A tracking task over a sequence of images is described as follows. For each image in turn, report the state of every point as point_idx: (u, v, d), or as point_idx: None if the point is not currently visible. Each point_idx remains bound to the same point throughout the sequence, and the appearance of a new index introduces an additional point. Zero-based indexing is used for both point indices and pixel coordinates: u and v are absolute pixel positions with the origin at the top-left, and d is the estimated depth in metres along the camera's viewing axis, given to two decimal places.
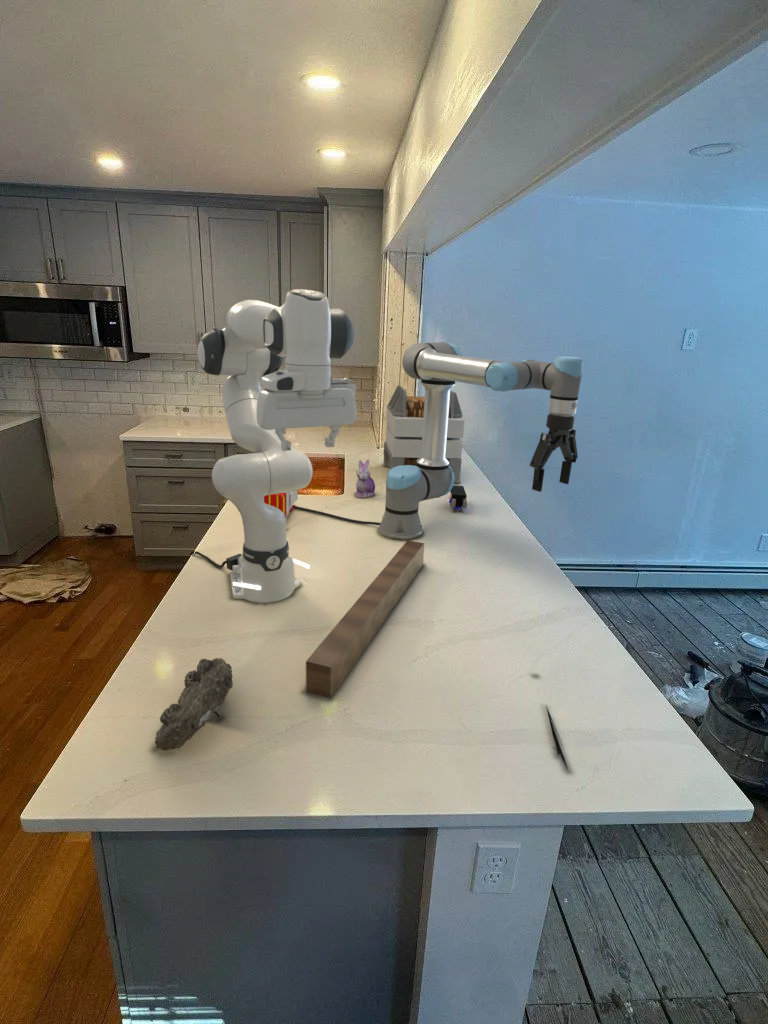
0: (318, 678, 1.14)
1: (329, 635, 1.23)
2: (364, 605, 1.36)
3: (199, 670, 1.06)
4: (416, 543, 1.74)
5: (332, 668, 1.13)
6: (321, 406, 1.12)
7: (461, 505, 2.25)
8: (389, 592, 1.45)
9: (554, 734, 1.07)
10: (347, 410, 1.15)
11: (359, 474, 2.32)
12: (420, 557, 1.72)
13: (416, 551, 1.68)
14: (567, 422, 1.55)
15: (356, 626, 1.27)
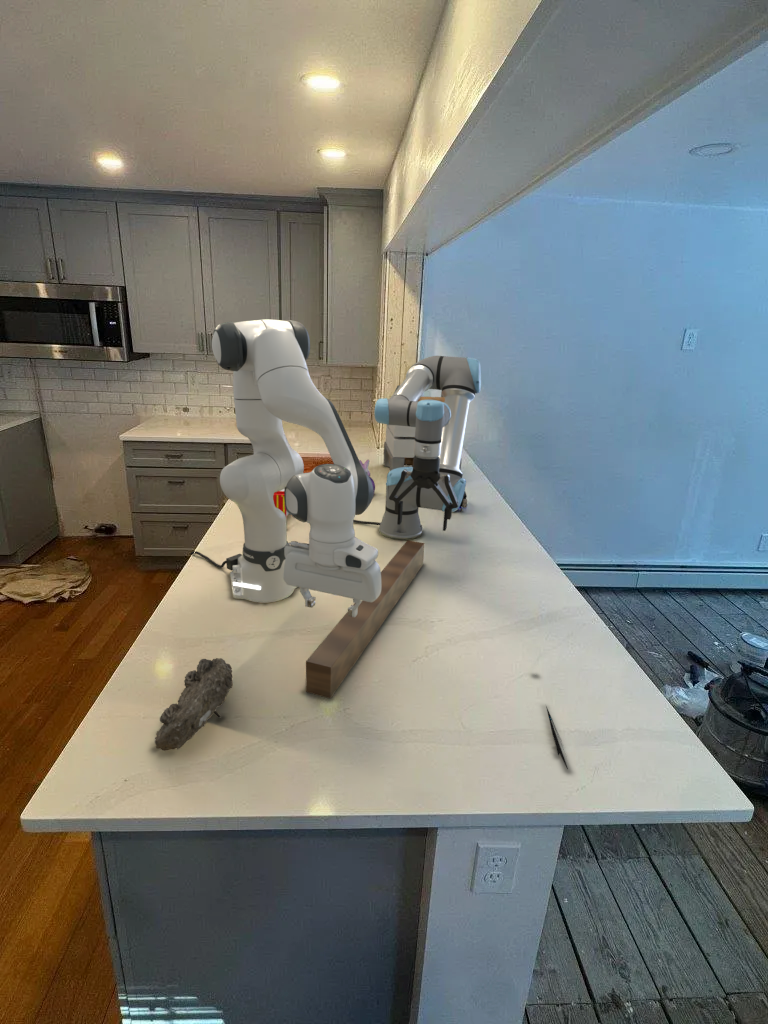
0: (318, 678, 1.14)
1: (329, 635, 1.23)
2: (364, 605, 1.36)
3: (199, 670, 1.06)
4: (416, 543, 1.74)
5: (332, 668, 1.13)
6: None
7: (461, 505, 2.25)
8: (389, 592, 1.45)
9: (554, 734, 1.07)
10: None
11: None
12: (420, 557, 1.72)
13: (416, 551, 1.68)
14: (418, 463, 1.58)
15: (356, 626, 1.27)
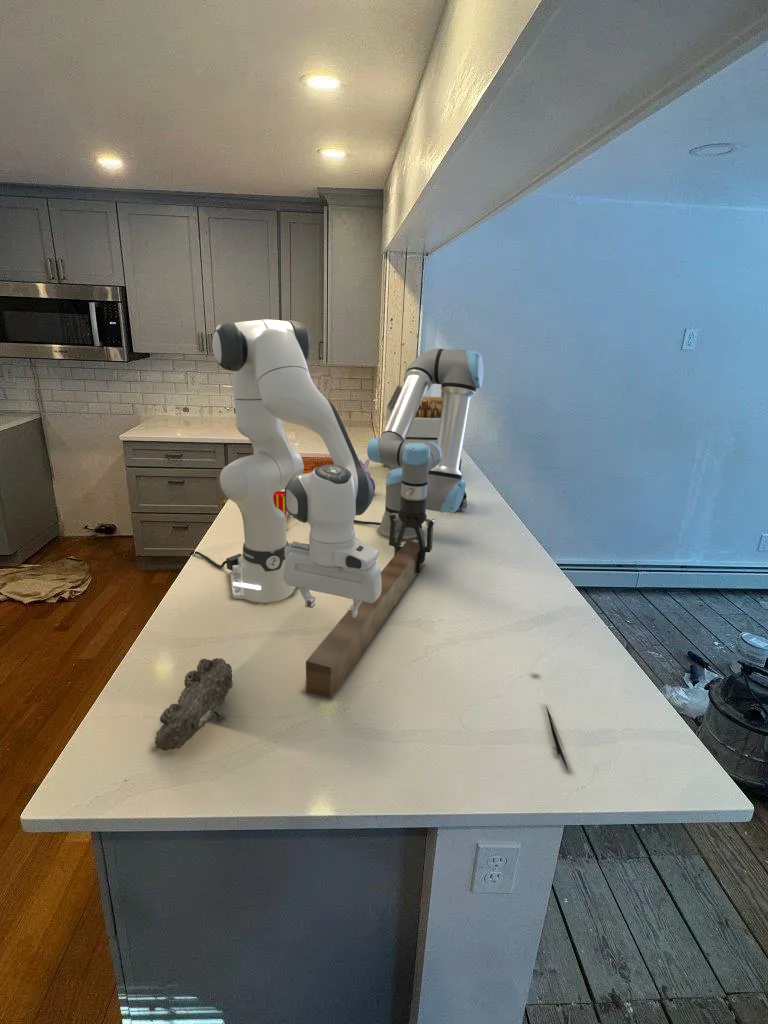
0: (318, 678, 1.14)
1: (329, 635, 1.23)
2: (364, 605, 1.36)
3: (199, 670, 1.06)
4: (416, 543, 1.74)
5: (332, 668, 1.13)
6: None
7: (461, 505, 2.25)
8: (389, 592, 1.45)
9: (554, 734, 1.07)
10: None
11: None
12: None
13: (416, 551, 1.68)
14: (404, 504, 1.62)
15: (356, 626, 1.27)
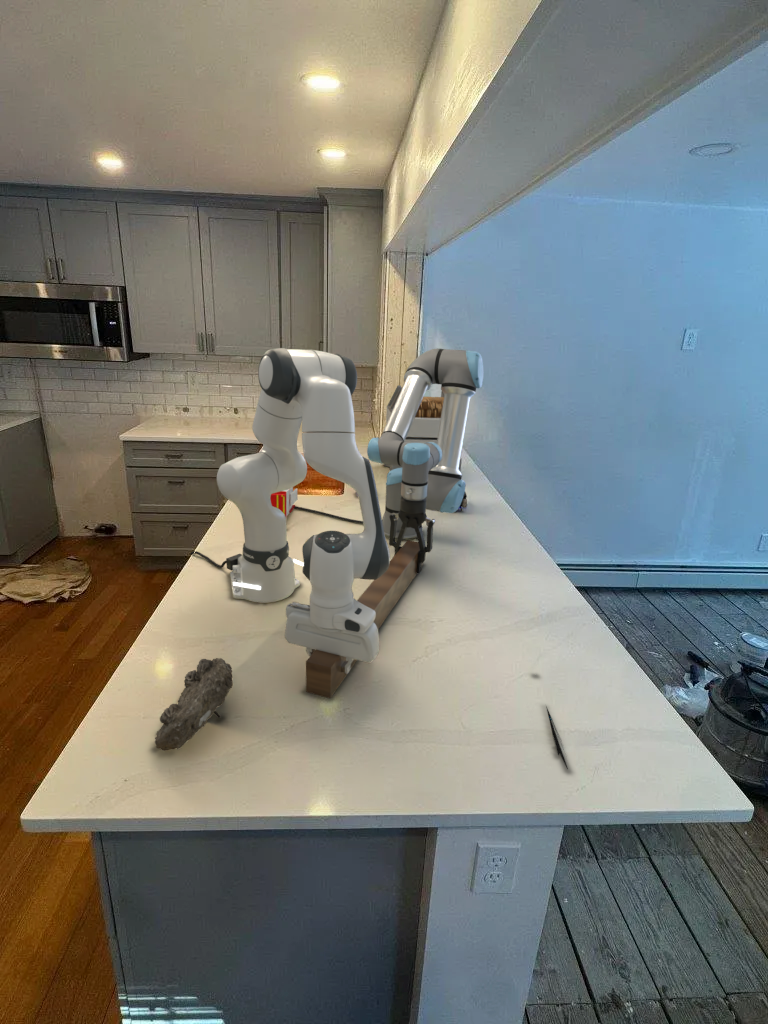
0: (318, 678, 1.14)
1: None
2: None
3: (199, 670, 1.06)
4: (416, 543, 1.74)
5: (332, 668, 1.13)
6: None
7: (461, 505, 2.25)
8: (389, 592, 1.45)
9: (554, 734, 1.07)
10: None
11: None
12: None
13: (416, 551, 1.68)
14: (404, 504, 1.62)
15: None
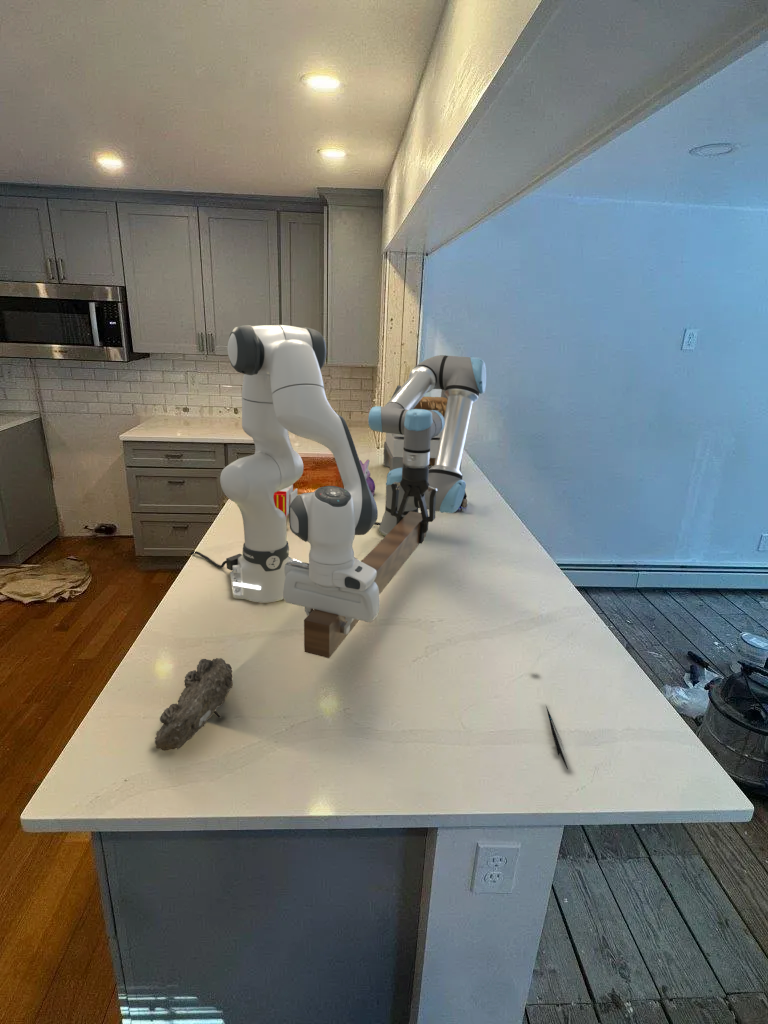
0: (317, 637, 1.11)
1: None
2: None
3: (199, 670, 1.06)
4: (418, 513, 1.70)
5: (331, 627, 1.10)
6: None
7: (461, 505, 2.25)
8: (390, 558, 1.42)
9: (554, 734, 1.07)
10: None
11: None
12: None
13: (418, 521, 1.65)
14: (406, 472, 1.59)
15: None
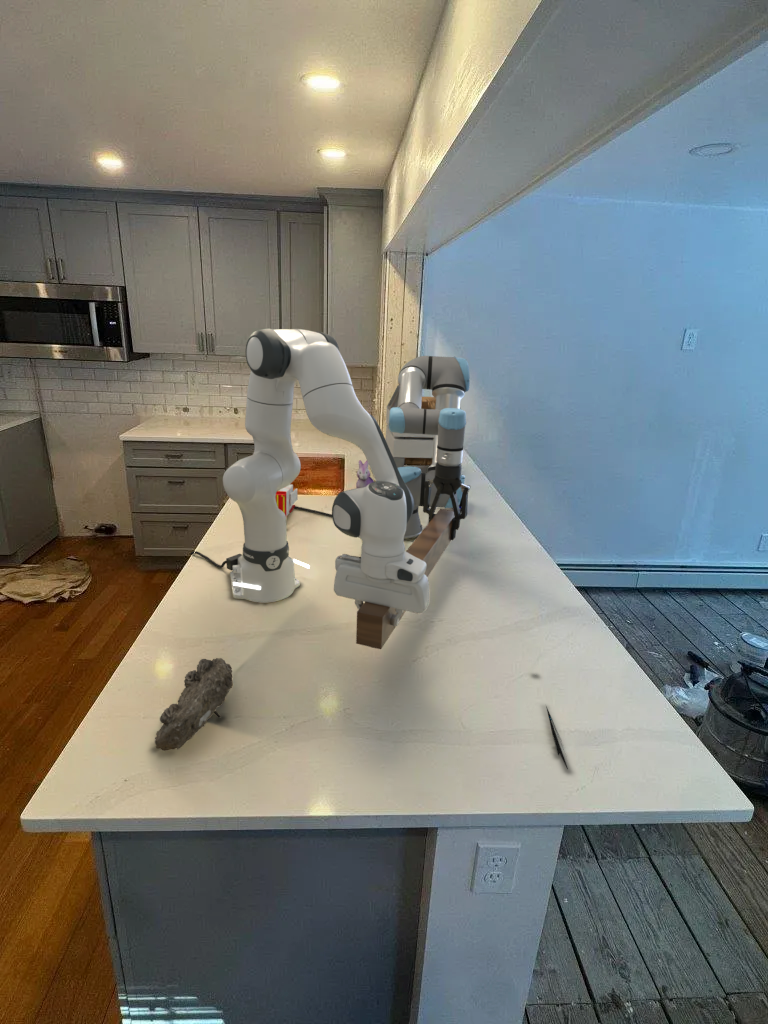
0: (369, 629, 1.14)
1: None
2: None
3: (199, 670, 1.06)
4: (449, 511, 1.74)
5: (384, 619, 1.13)
6: None
7: (461, 505, 2.25)
8: (429, 553, 1.45)
9: (554, 734, 1.07)
10: None
11: (359, 474, 2.32)
12: None
13: (450, 518, 1.68)
14: (439, 469, 1.62)
15: None
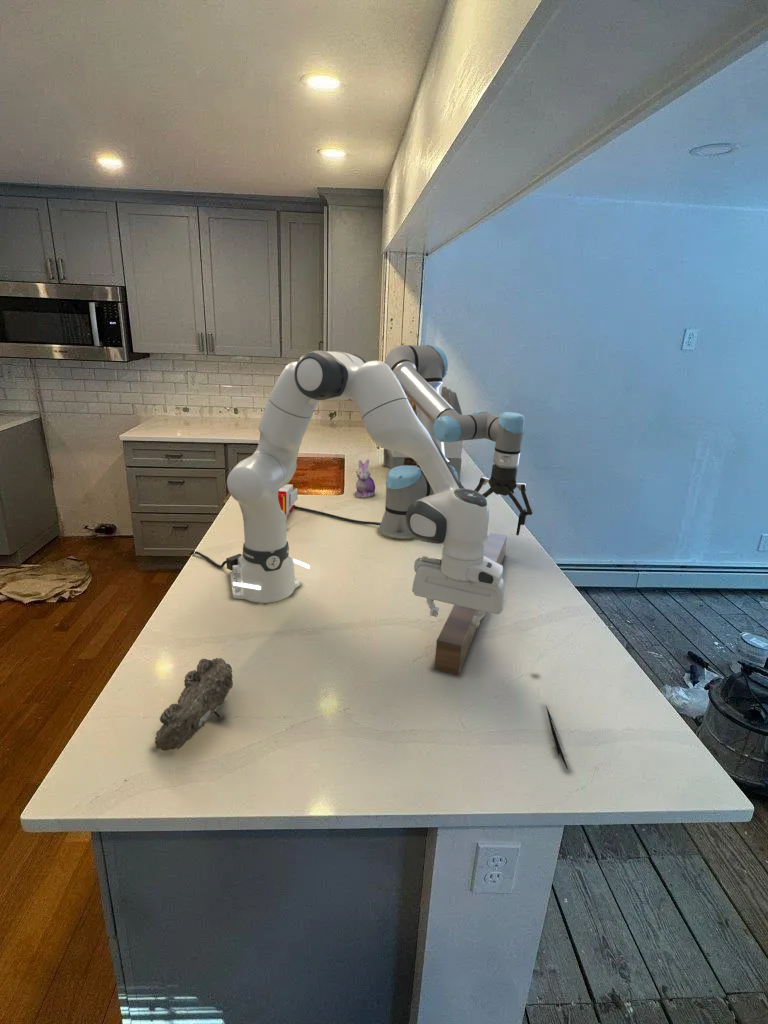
0: (448, 656, 1.23)
1: (449, 617, 1.32)
2: None
3: (199, 670, 1.06)
4: (499, 535, 1.83)
5: (462, 647, 1.22)
6: None
7: None
8: None
9: (554, 734, 1.07)
10: None
11: (359, 474, 2.32)
12: (504, 548, 1.81)
13: (502, 542, 1.77)
14: (497, 471, 1.68)
15: (471, 610, 1.36)
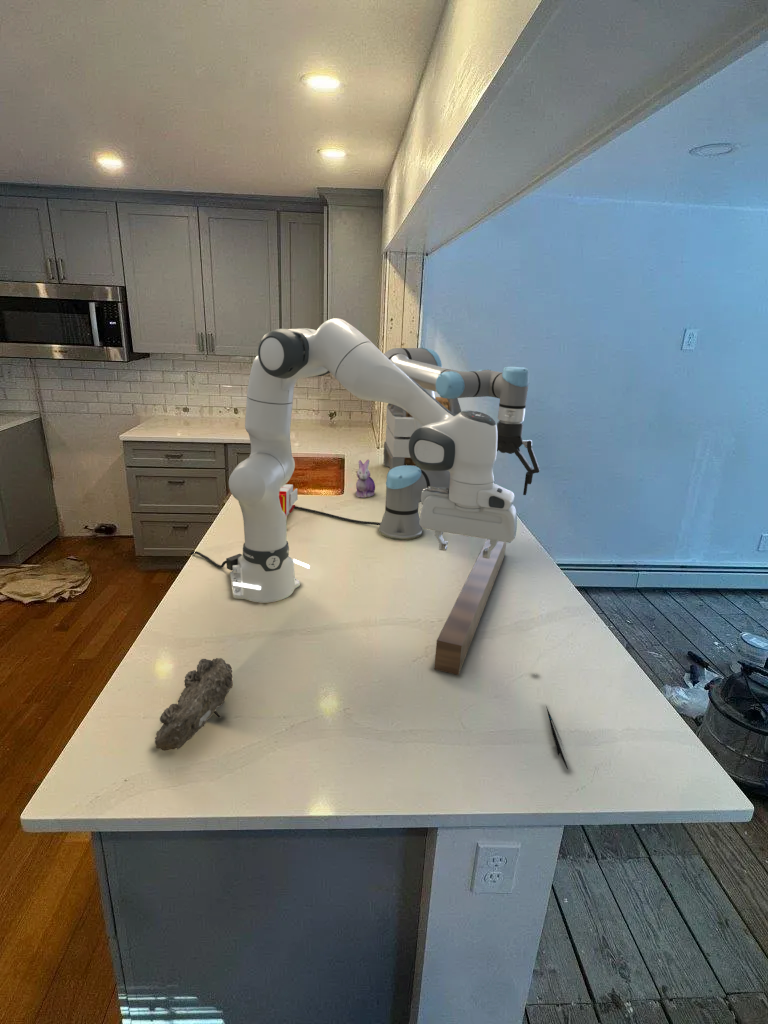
0: (448, 656, 1.23)
1: (449, 617, 1.32)
2: (472, 591, 1.45)
3: (199, 670, 1.06)
4: None
5: (462, 647, 1.22)
6: None
7: None
8: (489, 580, 1.54)
9: (554, 734, 1.07)
10: None
11: (359, 474, 2.32)
12: (504, 548, 1.81)
13: (502, 542, 1.77)
14: (502, 428, 1.64)
15: (471, 610, 1.36)
